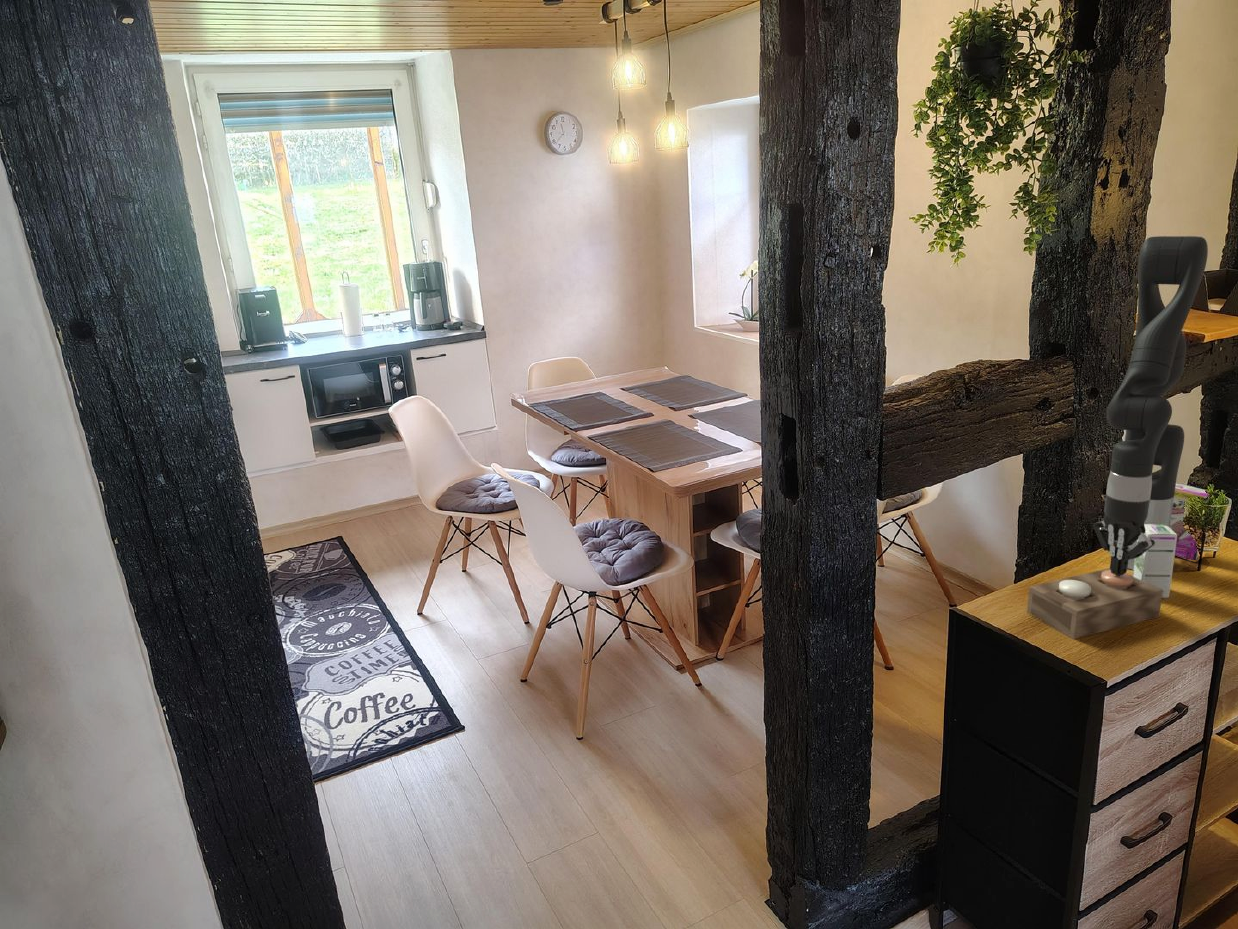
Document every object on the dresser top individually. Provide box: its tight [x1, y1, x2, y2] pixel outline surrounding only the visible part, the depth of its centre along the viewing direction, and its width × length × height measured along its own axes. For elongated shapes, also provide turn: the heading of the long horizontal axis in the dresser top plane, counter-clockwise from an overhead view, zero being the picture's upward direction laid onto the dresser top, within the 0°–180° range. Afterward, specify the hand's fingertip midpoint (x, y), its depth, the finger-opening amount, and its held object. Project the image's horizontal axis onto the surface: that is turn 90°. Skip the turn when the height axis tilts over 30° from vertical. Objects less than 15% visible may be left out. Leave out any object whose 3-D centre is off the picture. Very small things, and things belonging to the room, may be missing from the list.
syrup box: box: [1132, 524, 1177, 599], centre depth 182 cm, size 6×6×14 cm
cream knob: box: [1059, 580, 1091, 601], centre depth 173 cm, size 6×6×7 cm
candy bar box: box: [1170, 482, 1211, 560], centre depth 199 cm, size 11×5×16 cm, turn 33°
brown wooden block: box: [1026, 567, 1163, 640], centre depth 175 cm, size 22×12×6 cm, turn 109°
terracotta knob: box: [1101, 570, 1133, 590], centre depth 176 cm, size 6×6×7 cm
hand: (1117, 573), depth 175 cm, fingers closed
